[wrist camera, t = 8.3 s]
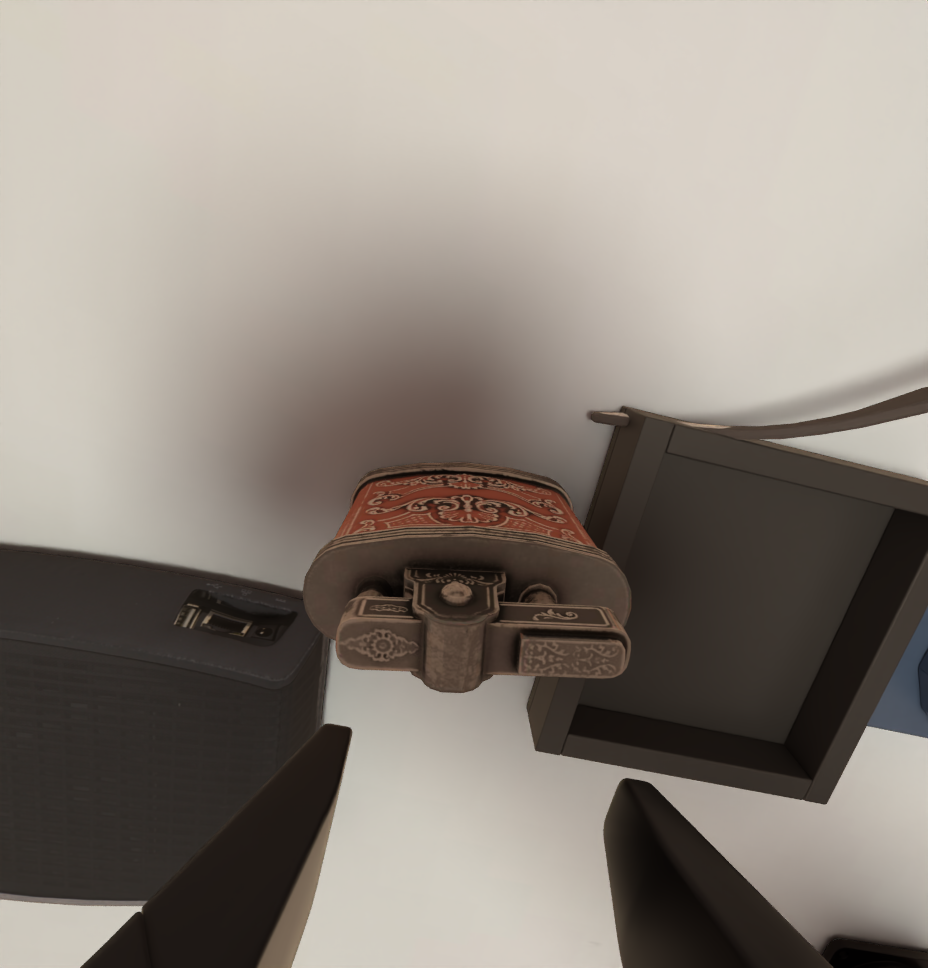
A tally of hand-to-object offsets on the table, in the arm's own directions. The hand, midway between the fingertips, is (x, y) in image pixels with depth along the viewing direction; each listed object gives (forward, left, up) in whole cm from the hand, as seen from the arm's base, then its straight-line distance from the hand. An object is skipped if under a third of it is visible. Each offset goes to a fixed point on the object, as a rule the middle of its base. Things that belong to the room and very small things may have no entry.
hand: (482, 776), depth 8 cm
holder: (-11, +2, -13) cm, 17 cm away
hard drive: (+13, +12, -13) cm, 22 cm away
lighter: (0, 0, -13) cm, 13 cm away
